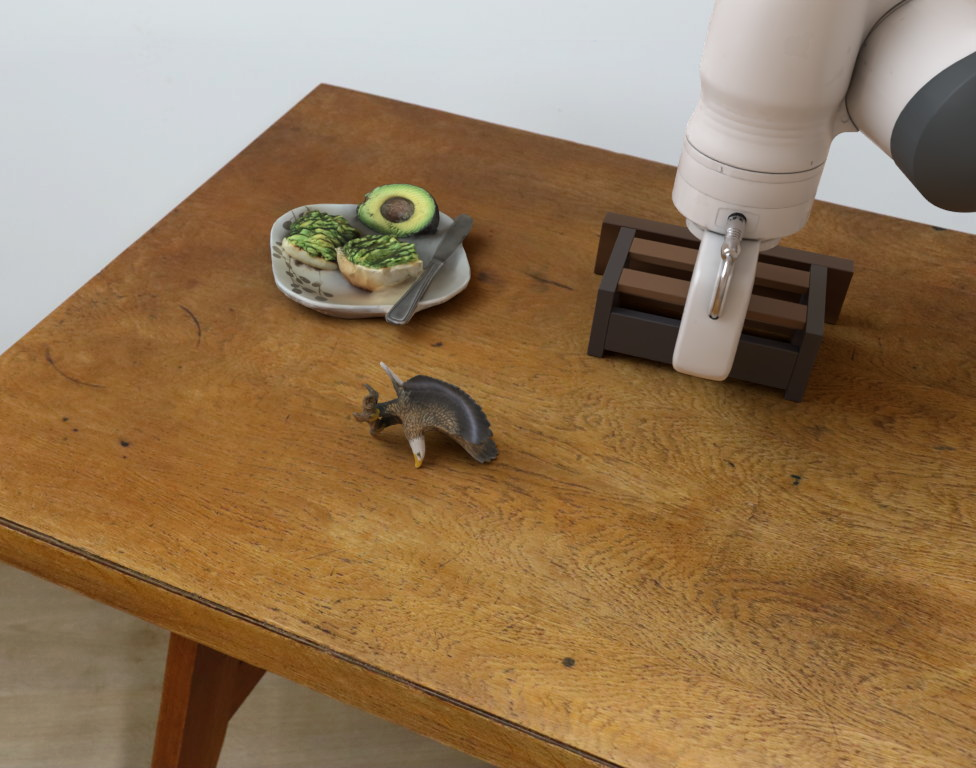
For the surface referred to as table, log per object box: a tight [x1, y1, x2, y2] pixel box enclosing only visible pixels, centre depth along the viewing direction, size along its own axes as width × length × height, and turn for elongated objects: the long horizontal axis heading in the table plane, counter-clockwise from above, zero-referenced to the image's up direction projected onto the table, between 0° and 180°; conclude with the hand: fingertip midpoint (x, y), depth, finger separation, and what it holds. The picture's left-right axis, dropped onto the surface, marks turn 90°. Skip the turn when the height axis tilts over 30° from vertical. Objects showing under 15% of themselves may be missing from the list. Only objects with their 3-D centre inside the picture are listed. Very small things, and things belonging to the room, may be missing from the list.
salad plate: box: [268, 183, 474, 327], centre depth 91 cm, size 19×18×5 cm
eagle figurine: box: [352, 361, 500, 469], centre depth 74 cm, size 8×7×9 cm
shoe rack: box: [586, 227, 827, 403], centre depth 85 cm, size 10×16×6 cm, turn 71°
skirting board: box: [593, 211, 855, 325], centre depth 92 cm, size 2×20×5 cm, turn 71°
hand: (700, 356), depth 80 cm, fingers closed
